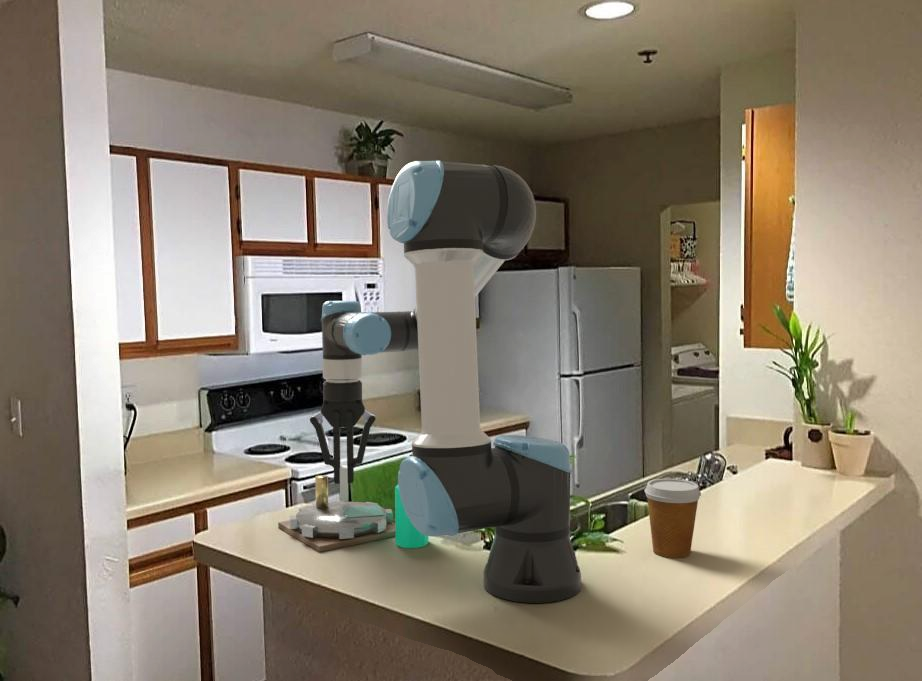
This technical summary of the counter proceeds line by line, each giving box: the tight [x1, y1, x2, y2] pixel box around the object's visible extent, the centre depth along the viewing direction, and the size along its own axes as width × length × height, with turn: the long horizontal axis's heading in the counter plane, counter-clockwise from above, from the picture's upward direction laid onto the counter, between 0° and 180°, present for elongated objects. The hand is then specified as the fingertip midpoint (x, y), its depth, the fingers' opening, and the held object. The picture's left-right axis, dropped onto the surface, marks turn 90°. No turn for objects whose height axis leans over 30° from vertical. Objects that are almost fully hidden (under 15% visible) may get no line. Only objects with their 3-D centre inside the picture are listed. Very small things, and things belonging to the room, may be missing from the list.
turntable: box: [289, 474, 394, 539], centre depth 158 cm, size 19×19×8 cm
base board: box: [277, 519, 396, 553], centre depth 158 cm, size 18×18×1 cm
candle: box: [394, 484, 429, 549], centre depth 151 cm, size 6×6×12 cm
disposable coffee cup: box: [644, 478, 702, 559], centre depth 145 cm, size 10×10×12 cm
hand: (344, 499), depth 163 cm, fingers closed
